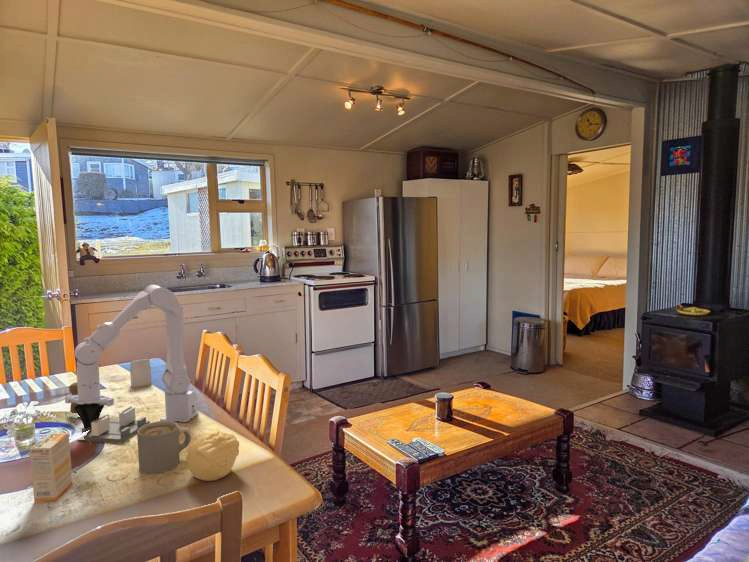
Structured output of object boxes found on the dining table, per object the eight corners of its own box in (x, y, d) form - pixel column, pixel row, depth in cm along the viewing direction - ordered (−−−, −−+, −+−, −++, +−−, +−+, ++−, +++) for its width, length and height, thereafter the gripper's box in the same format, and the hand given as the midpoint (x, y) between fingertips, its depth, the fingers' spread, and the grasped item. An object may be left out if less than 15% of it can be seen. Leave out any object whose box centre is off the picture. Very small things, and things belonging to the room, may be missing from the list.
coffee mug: (142, 477, 126) (140, 439, 125) (136, 461, 135) (134, 425, 133) (197, 463, 133) (195, 427, 132) (188, 449, 142) (187, 415, 141)
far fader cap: (135, 419, 159) (134, 406, 159) (125, 425, 154) (124, 412, 154) (129, 419, 160) (128, 405, 159) (119, 425, 155) (118, 411, 154)
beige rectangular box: (151, 384, 199) (150, 359, 198) (133, 387, 195) (131, 362, 194) (149, 382, 202) (147, 357, 201) (130, 385, 198) (129, 360, 197)
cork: (81, 418, 164) (79, 386, 163) (65, 417, 165) (63, 384, 164) (95, 412, 170) (93, 380, 168) (79, 410, 171) (77, 379, 170)
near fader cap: (109, 429, 152) (108, 415, 152) (98, 436, 147) (97, 421, 147) (103, 428, 152) (102, 414, 152) (92, 435, 147) (91, 421, 147)
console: (149, 424, 159) (149, 415, 159) (121, 443, 146) (120, 433, 145) (109, 421, 161) (108, 412, 161) (77, 440, 148) (77, 430, 147)
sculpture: (210, 491, 120) (209, 447, 119) (178, 477, 126) (176, 436, 125) (246, 471, 129) (245, 431, 128) (214, 459, 136) (213, 421, 135)
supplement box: (52, 484, 123) (48, 432, 121) (73, 483, 123) (69, 432, 122) (32, 503, 115) (28, 448, 113) (54, 502, 115) (50, 447, 114)
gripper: (56, 385, 146) (58, 431, 147) (101, 388, 143) (103, 434, 145) (74, 378, 153) (76, 421, 154) (117, 381, 150) (119, 425, 152)
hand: (90, 427), depth 150 cm, fingers closed
